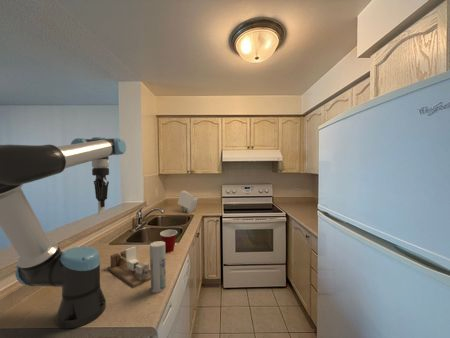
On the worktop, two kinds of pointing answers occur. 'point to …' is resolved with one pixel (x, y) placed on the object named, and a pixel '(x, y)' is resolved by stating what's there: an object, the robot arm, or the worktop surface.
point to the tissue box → (187, 201)
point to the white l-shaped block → (131, 258)
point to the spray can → (158, 266)
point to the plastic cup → (169, 239)
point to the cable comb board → (125, 273)
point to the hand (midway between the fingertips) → (101, 213)
